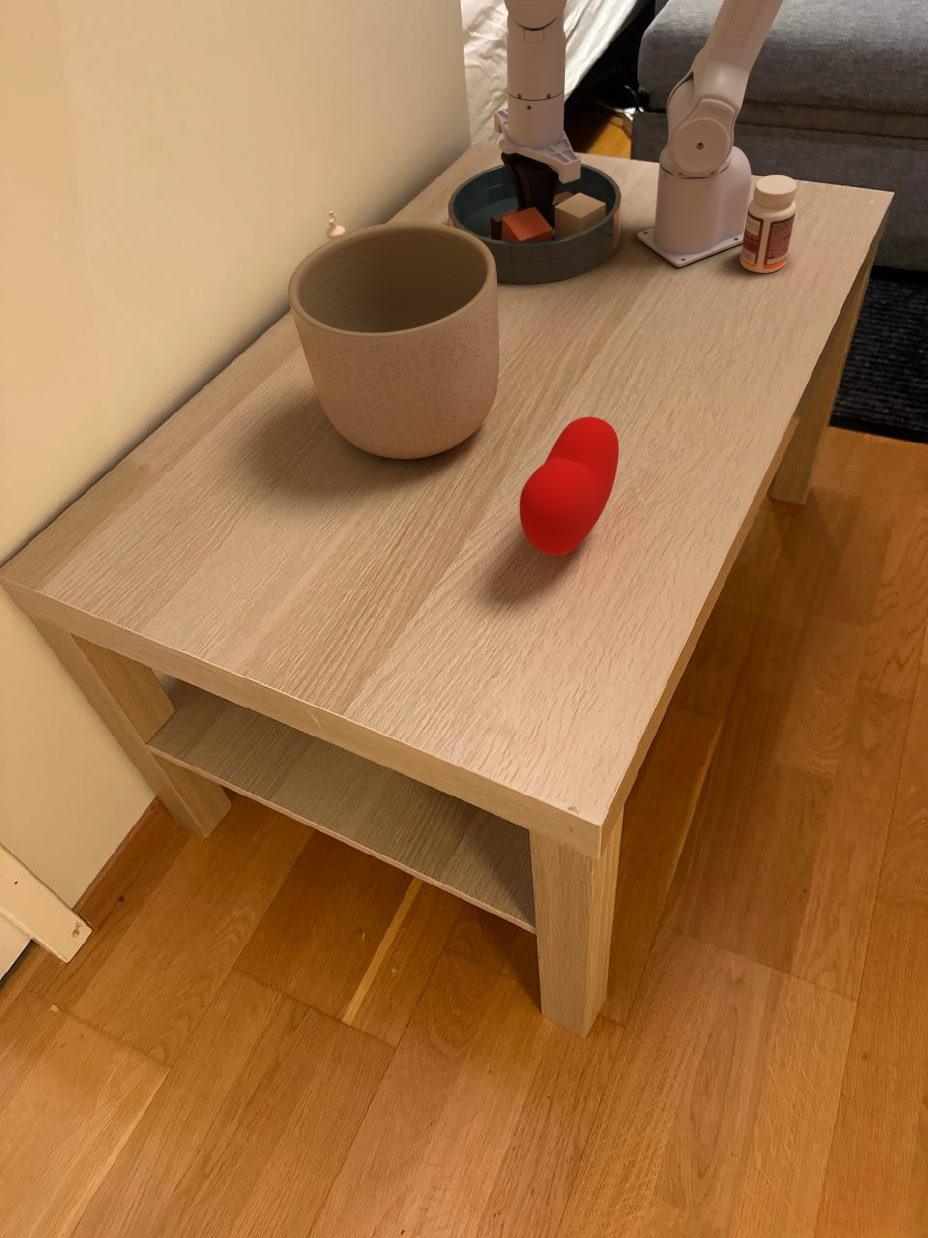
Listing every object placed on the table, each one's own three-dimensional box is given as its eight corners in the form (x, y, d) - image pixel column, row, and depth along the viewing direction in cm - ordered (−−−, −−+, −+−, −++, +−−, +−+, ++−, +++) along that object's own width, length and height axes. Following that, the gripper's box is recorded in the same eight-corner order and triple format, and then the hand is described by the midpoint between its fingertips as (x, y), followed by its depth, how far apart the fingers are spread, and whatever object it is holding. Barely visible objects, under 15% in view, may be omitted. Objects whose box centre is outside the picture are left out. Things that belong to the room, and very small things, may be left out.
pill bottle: (787, 252, 97) (803, 173, 90) (782, 276, 94) (798, 197, 87) (742, 248, 98) (755, 170, 91) (736, 271, 95) (748, 193, 89)
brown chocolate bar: (567, 216, 103) (568, 190, 100) (574, 222, 102) (576, 196, 99) (490, 241, 100) (490, 215, 98) (497, 247, 99) (497, 221, 97)
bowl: (562, 180, 111) (562, 143, 107) (653, 246, 100) (656, 207, 96) (424, 229, 106) (419, 192, 103) (503, 304, 95) (500, 264, 92)
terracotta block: (531, 236, 100) (534, 205, 97) (549, 259, 99) (553, 229, 95) (500, 247, 100) (502, 217, 96) (517, 270, 98) (520, 240, 94)
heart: (570, 488, 77) (570, 393, 69) (629, 506, 75) (636, 411, 67) (507, 582, 71) (500, 489, 63) (569, 604, 69) (569, 512, 61)
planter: (476, 497, 77) (460, 346, 65) (297, 470, 81) (252, 324, 70) (525, 377, 87) (519, 227, 75) (364, 359, 91) (334, 214, 79)
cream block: (579, 226, 103) (579, 191, 99) (605, 237, 101) (606, 203, 97) (554, 240, 101) (554, 206, 98) (580, 252, 99) (580, 217, 96)
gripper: (466, 73, 92) (473, 202, 103) (538, 125, 84) (536, 260, 95) (526, 57, 94) (526, 185, 105) (601, 106, 86) (593, 240, 97)
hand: (535, 220), depth 100 cm, fingers closed on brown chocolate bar
